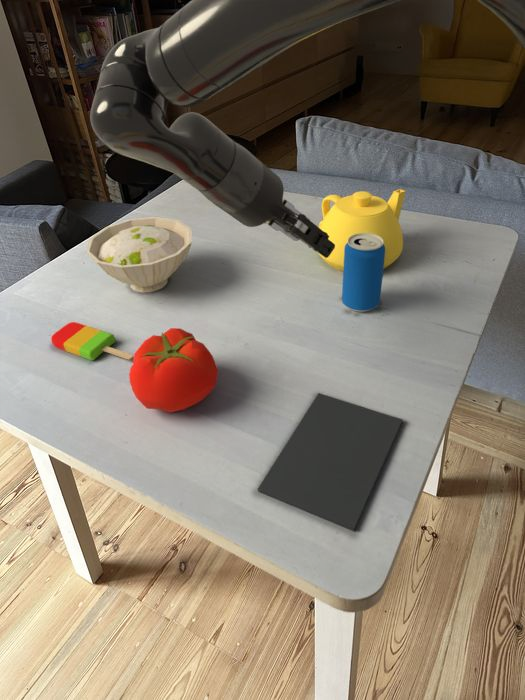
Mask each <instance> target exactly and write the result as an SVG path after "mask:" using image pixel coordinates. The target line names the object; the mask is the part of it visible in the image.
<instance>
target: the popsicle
mask: <svg viewBox="0 0 525 700" xmlns="http://www.w3.org/2000/svg"><path fill="white" fill-rule="evenodd" d="M50 340H51V344H52V345H53V347H54V348H56V349H59V350H62V351H64V352H67V353H70V354H73V355H75V356H78V357H81V358H84V359H87V360H89V361H94V360H96V359H97V358H98V357H99V356H100V355H102V353H104V352H105V353H108V354H111V355H114V356H116V357H119V358H122V359H125V360H128V361H129V360H133V358H134V355H133V354H131V353H128V352H125V351H122V350H119V349H116V348H114V347H111V346H112V345H113V344H114V343H116V337H115V335H114V334H112V333H109V332H106V331H103V330H100V329H97V328H94V327H91V326H88V325H86V324H82V323H80V322H75V321H71V322H68V323H67V324H65V325H63V326H62V327H61V328H60V329H59V330H57V331H56V332H54V333H53V334H52V335H51V338H50Z"/></svg>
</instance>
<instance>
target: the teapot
mask: <svg viewBox="0 0 525 700" xmlns="http://www.w3.org/2000/svg"><path fill="white" fill-rule="evenodd" d="M405 196H406V190H404V189H401V188H400V189H396V190H393V191H392V194H391V196H390V197H389V199H388V201H386V200H385V199H384V198H382V197H379V196H377V195H373V194H372V193H371V192H369V191H364V190H362V191H361V190H360V191H356V192H353V194H350V195H347V196H344V197H342V196H340V195H339V194H328V195H327V196H325V197H324V198H323V200H322V201H321V214H322V218H323V220H321V221H320V222H319V224H318V227H319V228H320V229H321V230H322V231H324V232H326V233H327V234H328V235H329V238H328V239H329V240H330V241H331V242H332V243H334V244H335V248H334V250H333V251H332V253H331V254H330V256H329V257H327V258H325V257H324V256H322V255H321V254H319V253H318V255H319V257H320V258H321V259H322V260H323V261H324V262H325V263H326V264H327V265H329V266H330V267H332V268H333V269H335V270H338V271H340V272H343V269H344V250H345V245H346V244H347V242H348V238H349V237H350V236H352V235H355V234H358V233H371V234H375V235H378V236H380V237H381V238H382V239H383V241H384V242H383V244H384V246H385V259H384V268H383V270H384V269H386V268H388V267H389V266H390V265H392V264H393V263H395V261H396V260H397V259H399V257H400V256H401V253H402V252H403V248H404V239H403V237H404V236H403V231H402V228H401V225H400V224H401V223H400V222H399V219H400V215H401V212H402V207H403V204H404V199H405ZM331 202H333V203H334V204H333V205H332V206H331V205H330V204H331Z"/></svg>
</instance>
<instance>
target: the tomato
mask: <svg viewBox="0 0 525 700" xmlns="http://www.w3.org/2000/svg"><path fill="white" fill-rule="evenodd" d="M132 362H133V363H132V365H131V366H130V369H129V372H128V377H129V385H130V386H131V390H132V392H133V394H134V396H135V398H136V399H137V400H138V401H139V402H140V403H141V404H142V406H144V407H145V408H146V409H149V410H160V411H163V412H168V413H173V412H177V411H183V410H186V409H188V408H190V407H192V406H194V405H196V404H198V403H199V402H201V401H202V400H204V399H205V398H206V397H208V396H209V395H210V393H211V392H212V391H213V390H214V388H215V387H216V385H217V381H218V374H219V373H218V372H219V369H218V367H217V365H216V361H215V358H214V356H213V354H212V353H211V351H210V350H209V349H208V348H207V346H206V345H205V343H203V342H201V341H198V340H197V339H196V338H195V336H194V334H193V333H191V332H189V331H186V330H184V329H182V328H178V327H177V328H176V327H170V328H169V329H168V330H166V331H165V332H164V333H163V332H161V335H157V334H156V335H155V334H153V335H151V336H150V337H147V339H145V340H144V341H143V342H142V343H141V345H140V346H139V347H138V348H137V350H136V351H135V352H134V355H133V358H132Z"/></svg>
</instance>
